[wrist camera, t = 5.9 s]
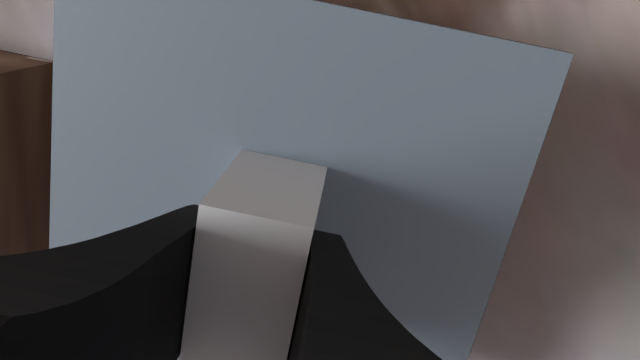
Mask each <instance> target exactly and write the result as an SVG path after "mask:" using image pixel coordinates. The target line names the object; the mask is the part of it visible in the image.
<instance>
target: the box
mask: <svg viewBox="0 0 640 360" xmlns="http://www.w3.org/2000/svg"><path fill="white" fill-rule="evenodd" d="M52 86H53V61H50V60H45V59H40V58H35V57H30V56H26V55H21V54H16V53H11V52H6V51H2V50H0V256H5V255H12V254H20V253H27V252H34V251H40V250H46V249H49V230H50V182H51V134H52Z"/></svg>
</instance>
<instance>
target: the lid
mask: <svg viewBox="0 0 640 360" xmlns="http://www.w3.org/2000/svg"><path fill="white" fill-rule="evenodd" d="M573 55H574V54H572V53H569V52H565V51H561V50H556V49H551V48H547V47H542V46H537V45H532V44H527V43H522V42H517V41H512V40H508V39H503V38H498V37H493V36H488V35H483V34H478V33H473V32H469V31H464V30H459V29H454V28H449V27H444V26H439V25H434V24H430V23H425V22H420V21H415V20H410V19H405V18H400V17H395V16H391V15H386V14H381V13H376V12H371V11H366V10H361V9H356V8H352V7H347V6H342V5H337V4H332V3H327V2H322V1H317V0H54V38H53V86H52V134H51V182H50V230H49V249H51V248H55V247H60V246H65V245H69V244H74V243H78V242H82V241H86V240H89V239H93V238H96V237H100V236H103V235H106V234H109V233H112V232H115V231H118V230H121V229H124V228H128V227H131V226H134V225H136V224H139V223H142V222H144V221H147V220H150V219H152V218H155V217H158V216H160V215H163V214H166V213H168V212H171V211H173V210H176V209H179V208H182V207H185V206H188V205H192V204H195V205H199V207H198V215H197V223H196V231H195V239H194V247H193V256H192V264H191V272H190V280H189V288H188V296H187V304H186V312H185V320H184V328H183V336H182V344H181V352H180V356H179V357H178V359H177V360H287V356H288V351H289V346H290V342H291V337H292V332H293V327H294V322H295V317H296V313H297V308H298V303H299V298H300V293H301V289H302V284H303V279H304V274H305V269H306V264H307V260H308V255H309V250H310V245H311V241H312V236H313V232H314V230H319V231H323V232H328V233H333V234H338V235H341V236H342V238H343V239H344V241H345V243H346V245H347V248H348V250H349V252H350V254H351V256H352V258H353V260H354V261H355V263H356V265H357V267H358V269H359V270H360V272H361V274H362V275H363V277H364V278H365V280H366V282H367V283H368V285H369V286H370V288H371V289H372V290H373V292H374V293H375V294H376V296H377V297H378V298H379V300H380V301H381V302H382V303H383V305H384V306H385V307H386V308H387V309H388V311H389V312H390V313H391V314H392V315H393V316H394V317H395V318H396V319H397V320H398V321H399V322H400V323H401V324H402V325H403V326H404V327H405V328H406V329H407V330H408V331H409V332H410V333H411V334H412V335H413V336H414V337H415V338H417V339H418V340H419V341H420V342H421V343H423V344H424V345H425V346H426V347H427V348H429V349H430V350H431V351H432V352H433V353H435V354H436V355H437V356H438V357H440V358H441V359H442V360H468V357H469V354H470V351H471V348H472V346H473V343H474V340H475V337H476V334H477V331H478V328H479V325H480V323H481V320H482V317H483V314H484V311H485V308H486V305H487V302H488V300H489V297H490V294H491V291H492V288H493V285H494V282H495V279H496V277H497V274H498V271H499V268H500V265H501V262H502V259H503V256H504V254H505V251H506V248H507V245H508V242H509V239H510V236H511V233H512V231H513V228H514V225H515V222H516V219H517V216H518V213H519V210H520V208H521V205H522V202H523V199H524V196H525V193H526V190H527V187H528V185H529V182H530V179H531V176H532V173H533V170H534V167H535V164H536V162H537V159H538V156H539V153H540V150H541V147H542V144H543V141H544V139H545V136H546V133H547V130H548V127H549V124H550V121H551V118H552V116H553V113H554V110H555V107H556V104H557V101H558V98H559V95H560V93H561V90H562V87H563V84H564V81H565V78H566V75H567V72H568V70H569V67H570V64H571V61H572V58H573Z"/></svg>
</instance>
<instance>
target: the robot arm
mask: <svg viewBox="0 0 640 360" xmlns="http://www.w3.org/2000/svg"><path fill="white" fill-rule="evenodd" d="M198 207H199V205H195V204H192V205H188V206H185V207H182V208H179V209H176V210H173V211H171V212H168V213H166V214H163V215H160V216H158V217H155V218H152V219H150V220H147V221H144V222H142V223H139V224H136V225H134V226H131V227H128V228H124V229H121V230H118V231H115V232H112V233H109V234H106V235H103V236H100V237H96V238H93V239H89V240H86V241H82V242H78V243H74V244H69V245H65V246H60V247H55V248H51V249H46V250H40V251H34V252H27V253H20V254H12V255H5V256H0V360H177V359H178V357H179V356H180V352H181V344H182V336H183V328H184V320H185V312H186V304H187V296H188V288H189V280H190V272H191V264H192V256H193V247H194V239H195V231H196V223H197V215H198ZM287 360H442V359H441V358H440V357H438V356H437V355H436V354H435V353H433V352H432V351H431V350H430V349H429V348H427V347H426V346H425V345H424V344H423V343H421V342H420V341H419V340H418V339H417V338H415V337H414V336H413V335H412V334H411V333H410V332H409V331H408V330H407V329H406V328H405V327H404V326H403V325H402V324H401V323H400V322H399V321H398V320H397V319H396V318H395V317H394V316H393V315H392V314H391V313H390V312H389V311H388V309H387V308H386V307H385V306H384V305H383V303H382V302H381V301H380V300H379V298H378V297H377V296H376V294H375V293H374V292H373V290H372V289H371V288H370V286H369V285H368V283H367V282H366V280H365V278H364V277H363V275H362V274H361V272H360V270H359V269H358V267H357V265H356V263H355V261H354V260H353V258H352V256H351V254H350V252H349V250H348V248H347V245H346V243H345V241H344V239H343V238H342V236H341V235H338V234H333V233H328V232H323V231H319V230H314V232H313V236H312V241H311V245H310V250H309V255H308V260H307V264H306V269H305V274H304V279H303V284H302V289H301V293H300V298H299V303H298V308H297V313H296V317H295V322H294V327H293V332H292V337H291V342H290V346H289V351H288V356H287Z"/></svg>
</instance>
